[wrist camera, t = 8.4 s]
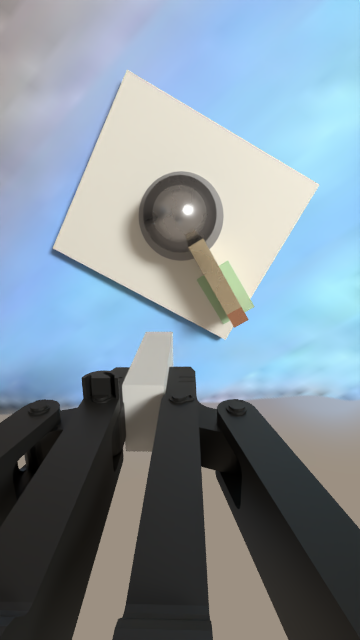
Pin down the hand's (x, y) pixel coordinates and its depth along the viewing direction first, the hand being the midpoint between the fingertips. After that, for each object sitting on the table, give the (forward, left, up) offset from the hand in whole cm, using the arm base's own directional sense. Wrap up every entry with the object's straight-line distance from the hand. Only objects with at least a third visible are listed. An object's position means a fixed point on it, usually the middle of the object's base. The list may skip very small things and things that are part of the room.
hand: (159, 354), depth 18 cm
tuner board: (-4, +8, -19) cm, 21 cm away
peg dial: (0, +6, -18) cm, 19 cm away
